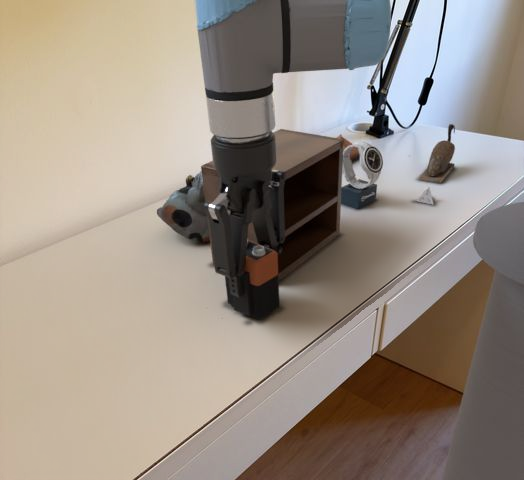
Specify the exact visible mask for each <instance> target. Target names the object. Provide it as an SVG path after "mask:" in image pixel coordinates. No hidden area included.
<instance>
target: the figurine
mask: <svg viewBox="0 0 524 480" xmlns="http://www.w3.org/2000/svg"><path fill="white" fill-rule="evenodd" d="M452 131H453V134H455V132H456V127H455V124H453V123H449V124H448V128H447V140H441V141H438V142H437V143H436V144H435V146H434V147H433V148H432V151H431V154H430V157H429V161H428V164H427V167H426V169H425V170H424V172H422V173H421V175H419V180H420V181H423V182H424V181H425V182H431V183H437V184H441V183H442V182H443V181H444V180H445V179H446V177H448V175H449V174H450V173H451V172H452V171H453V170H454V168H455V163H453V162H451V161H452V160H453V157H454V154H455V151H456V145H455V144H454V143H453V142H452Z"/></svg>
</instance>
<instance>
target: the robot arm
mask: <svg viewBox="0 0 524 480" xmlns="http://www.w3.org/2000/svg"><path fill="white" fill-rule="evenodd" d="M195 9H196V10H195V11H196V12H195V13H196V30H197V36H198V37H197V38H198V45H199V52H200V60H201V69H202V77H203V83H204V92H205V100H206V107H207V109H206V110H207V116H208V117H207V118H208V127H209V132H210V133H211V134H212V135H213V136H212V137H211V139H210V149H211V156H212V161H213V166H214V168H215V170H216V171H217V172H218V174H219V176H220V186H219V196H218V197H217V198H216V199H215V200H214V201H213V202H210V201H206V202H205V204H204V210H205V213H206V215H207V217H208V219H209V225H210V233H211V241H212V249H213V257H214V265H213V266H214V272H215V274H218V275H221V276H223V277H225V276H226V277H228V278H229V285H230V286H229V287H230V293H231V294H232V295H233V303H234V306H233V311H235V312H238V313H240V314H243V315H245V316H248V317H250V316H251V314H253V311H252V299H251V287H250V274H249V272H246V271H245V262H246V249H247V237H248V225H249V223H251V222H252V223H253V227H254V230H255V234H256V238H257V242H258V244H260V245H262V246H264V247H267V248H269V249H272V250H274V251H276V252H277V254H280V253H281V252H282V247H279V246H278V244H279V243H281V244H282V243H283V242H284V241H285V220H284V184H285V178H286V173H285V172H283V171H279V170H274V169H272V168H273V167H274V166H275V164H276V142H275V134H274V133H273V131H274V130H275V127H276V114H275V112H276V111H275V92H274V91H275V90H274V75H275V74H288V73H301V72H302V73H303V72H317V71H333V70H334V71H335V70H349V71H354V70H355V69H360V68H364V67H365V68H367V67H374V66H377V65H378V64H380V63H381V62H382V61H383V59H384V57H385V55H386V53H387V51H388V47H389V42H390V37H391V36H390V35H391V27H392V26H391V25H392V6H391V0H195ZM236 213H238V214H236ZM240 214H241V215H240ZM274 231H277V233H275V232H274Z"/></svg>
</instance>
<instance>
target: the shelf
mask: <svg viewBox="0 0 524 480" xmlns="http://www.w3.org/2000/svg"><path fill="white" fill-rule="evenodd" d="M272 132H273V131H272ZM273 133H274V134H275V142H276V164H275V166H274V167H273V168H272V169H274V170H279V171H283V172H285V173H286V178H285V184H284V220H285V241H284V242H283V243H282V244H281V243H279V244H278V246H279V247H282V252H281V253H280V254H277V255H278V281H281V280H282V279H283V278H285V277H286V276H287V275H288V274H290V273H291V272H292V271H294V270H295V269H297V268H298V267H299V266H300V265H301V264H303V263H304V262H305V261H307V260H308V259H309V258H310V257H312V256H313V255H315V254H316V253H317V252H319V251H320V250H322V248H324V247H325V246H327V245H328V244H329V243H330V242H332V241H333V240H334V239H335V238H337V237H338V236H340V233H341V232H340V231H341V230H340V229H341V210H342V209H341V208H342V207H341V206H342V204H341V189H342V187H343V171H342V166H343V145H344V139H339V138H337V137H333V136H327V135H320V134H314V133H309V132H303V131H296V130H291V129H284V128H280V129H277V130H276V131H274V132H273ZM200 169H201V171H202V179H203V187H204V195H205V202H206V201H210V202H213V201H214V200H215V199H216V198H217V197H218V196H219V186H220V176H219V174H218V172H217V171H216V170H215V168H214V166H213V160H210V161H209V162H206V163H204V164H202V165H200ZM201 171H200V172H201ZM236 214H238V213H236ZM240 215H241V214H240ZM207 219H208V217H207ZM208 227H209V235H210V241H209V242H210V250H211V251H210V252H211V258H212V265H213V266H215V265H214V257H213V249H212V241H211V233H210V225H209V219H208ZM274 232H275V233H277V231H274ZM247 239H248V240H250V241H252V242H255V243H257V244H258V242H257V238H256V234H255V230H254V227H253V223H252V222H251V223H249V225H248V237H247Z"/></svg>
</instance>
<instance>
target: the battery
mask: <svg viewBox="0 0 524 480" xmlns="http://www.w3.org/2000/svg"><path fill="white" fill-rule="evenodd" d="M245 271H246V272H249V274H250V287H251V299H252V311H253V314H251V315H250V316H251V317H252V318H255V319H256V320H262V319H264V318H265V317H267V316H269V315H270V314H271V313H273V312H275V311H276V310H278V309H279V308H280V286H279V281H280V280H279V281H278V255H277V252H276V251H274V250H272V249H269V248H267V247H264V246H262V245H260V244H257V243H255V242H252V241H250V240H248V239H247V249H246V262H245ZM224 280H225V290H226V299H227V304H228V305H230V306H232V307H234V303H233V295H232V294H231V293H230V287H229V286H230V285H229V278H228V277H226V276H224Z"/></svg>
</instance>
